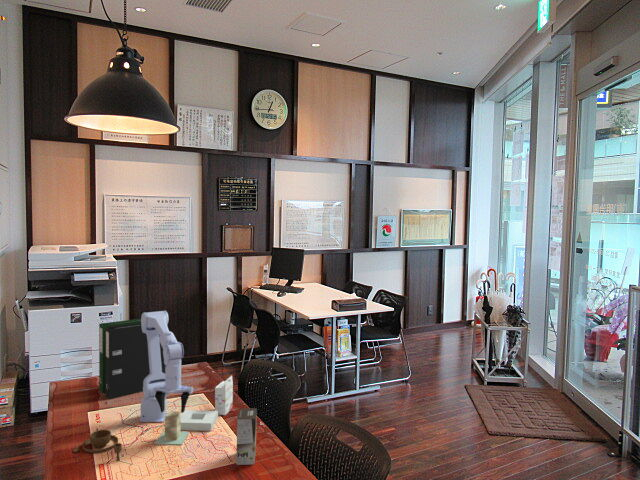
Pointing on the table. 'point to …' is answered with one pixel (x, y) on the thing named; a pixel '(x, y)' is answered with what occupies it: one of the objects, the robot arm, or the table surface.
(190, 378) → the table surface
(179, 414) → the maple peg
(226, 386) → the ink cartridge box
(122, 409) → the table surface
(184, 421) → the pocket holder
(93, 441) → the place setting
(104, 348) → the binder
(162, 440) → the rubber mat
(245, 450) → the coffee box
